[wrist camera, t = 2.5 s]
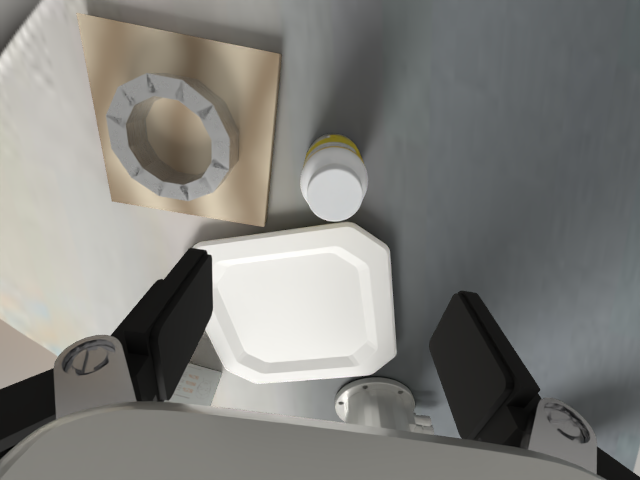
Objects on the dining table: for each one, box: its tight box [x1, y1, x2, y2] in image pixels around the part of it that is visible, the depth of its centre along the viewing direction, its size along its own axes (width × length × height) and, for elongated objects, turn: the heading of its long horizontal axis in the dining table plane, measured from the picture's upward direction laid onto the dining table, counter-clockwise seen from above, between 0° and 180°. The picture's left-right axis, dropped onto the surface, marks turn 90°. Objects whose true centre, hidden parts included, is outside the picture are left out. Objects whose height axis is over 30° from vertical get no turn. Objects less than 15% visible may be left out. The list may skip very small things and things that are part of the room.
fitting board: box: [76, 13, 282, 227], centre depth 28 cm, size 16×16×1 cm
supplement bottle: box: [300, 134, 368, 221], centre depth 25 cm, size 5×5×10 cm
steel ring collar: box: [106, 73, 240, 201], centre depth 26 cm, size 10×10×3 cm
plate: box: [193, 221, 397, 384], centre depth 38 cm, size 25×25×2 cm
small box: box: [164, 363, 222, 406], centre depth 42 cm, size 8×6×10 cm
